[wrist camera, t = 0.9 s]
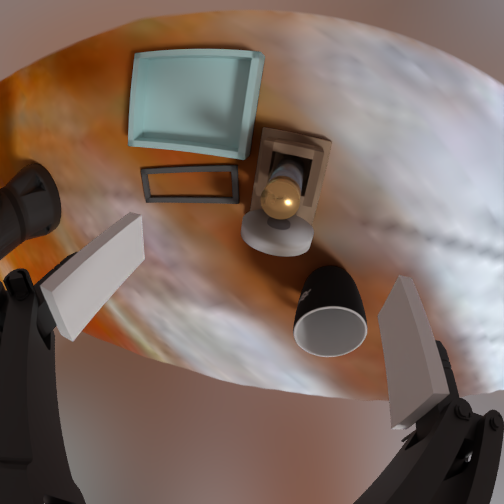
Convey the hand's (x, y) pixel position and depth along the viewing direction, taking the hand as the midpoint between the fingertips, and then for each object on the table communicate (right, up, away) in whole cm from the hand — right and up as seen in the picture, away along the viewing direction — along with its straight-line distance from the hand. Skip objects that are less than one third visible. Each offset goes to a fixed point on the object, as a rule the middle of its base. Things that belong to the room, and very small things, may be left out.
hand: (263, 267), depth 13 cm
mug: (+11, -5, +27) cm, 29 cm away
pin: (+4, +11, +18) cm, 21 cm away
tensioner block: (+4, +9, +20) cm, 22 cm away
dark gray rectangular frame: (-9, +10, +22) cm, 26 cm away
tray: (-7, +19, +16) cm, 26 cm away
